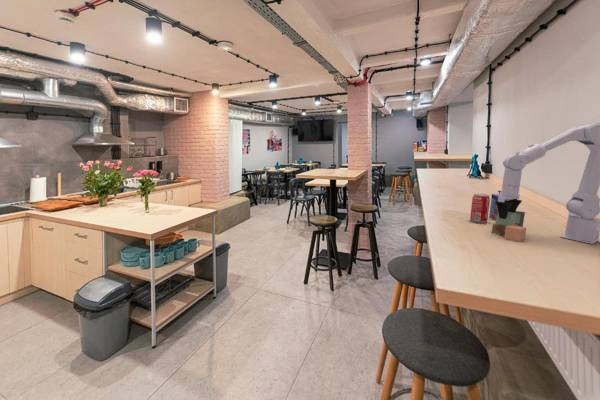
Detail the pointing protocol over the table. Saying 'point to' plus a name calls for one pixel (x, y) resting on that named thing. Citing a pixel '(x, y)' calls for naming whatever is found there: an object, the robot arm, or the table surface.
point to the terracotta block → (515, 233)
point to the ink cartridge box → (494, 206)
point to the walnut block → (499, 229)
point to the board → (519, 218)
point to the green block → (507, 219)
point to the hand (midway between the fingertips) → (506, 217)
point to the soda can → (480, 208)
